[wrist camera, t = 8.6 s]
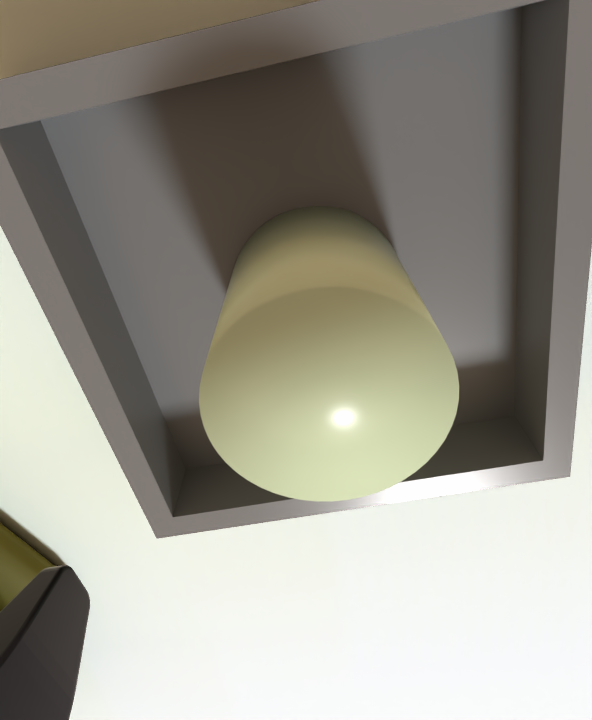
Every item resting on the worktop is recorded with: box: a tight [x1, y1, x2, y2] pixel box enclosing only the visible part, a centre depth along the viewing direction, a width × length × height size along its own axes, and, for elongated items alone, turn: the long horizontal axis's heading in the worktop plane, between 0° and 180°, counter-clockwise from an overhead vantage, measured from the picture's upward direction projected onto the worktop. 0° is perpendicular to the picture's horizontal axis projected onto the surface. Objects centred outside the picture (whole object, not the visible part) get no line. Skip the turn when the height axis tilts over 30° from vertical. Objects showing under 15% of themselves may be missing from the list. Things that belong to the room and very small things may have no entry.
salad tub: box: [199, 206, 459, 502], centre depth 15 cm, size 6×6×7 cm
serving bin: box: [0, 0, 592, 538], centre depth 17 cm, size 16×16×4 cm
